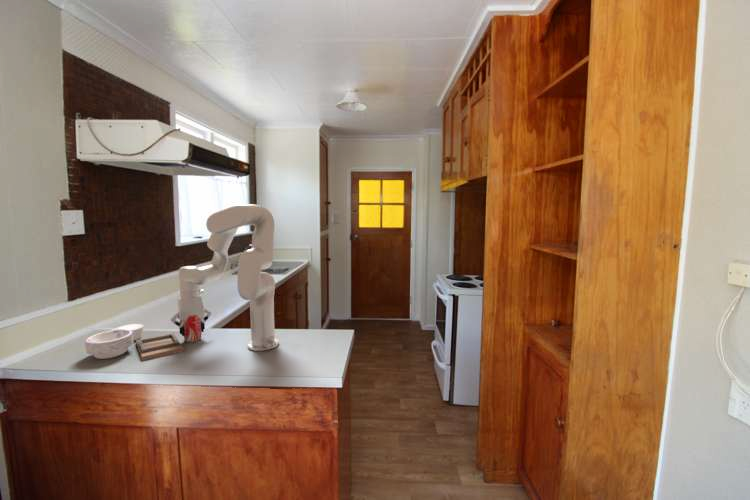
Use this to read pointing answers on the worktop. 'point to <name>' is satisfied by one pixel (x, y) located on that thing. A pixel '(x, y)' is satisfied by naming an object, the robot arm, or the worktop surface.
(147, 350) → the steel frame
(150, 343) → the tan board
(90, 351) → the paper bowls
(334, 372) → the worktop surface
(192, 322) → the soda can
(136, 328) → the ramekin
